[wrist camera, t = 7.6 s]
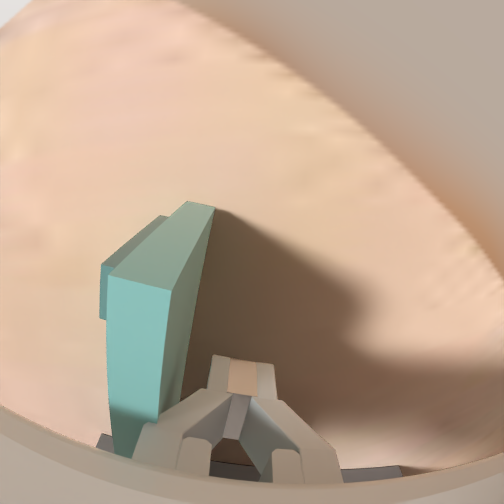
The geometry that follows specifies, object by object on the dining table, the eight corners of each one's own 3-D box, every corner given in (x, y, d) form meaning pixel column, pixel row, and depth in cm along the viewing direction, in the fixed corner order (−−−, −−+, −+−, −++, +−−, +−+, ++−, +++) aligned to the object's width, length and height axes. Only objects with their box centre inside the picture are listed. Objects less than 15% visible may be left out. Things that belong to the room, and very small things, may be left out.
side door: (170, 197, 11) (74, 265, 4) (215, 207, 11) (171, 291, 4) (145, 450, 15) (121, 544, 9) (172, 457, 15) (154, 552, 9)
